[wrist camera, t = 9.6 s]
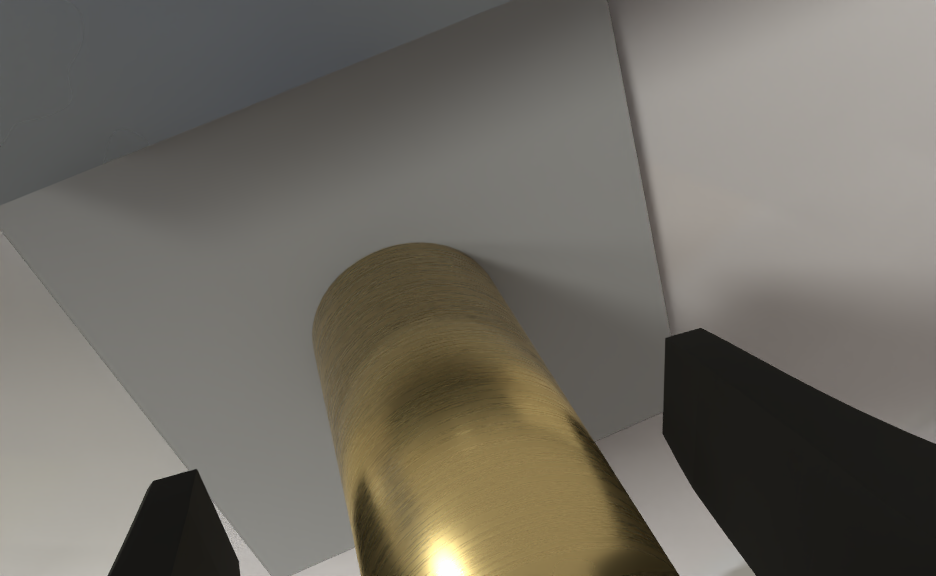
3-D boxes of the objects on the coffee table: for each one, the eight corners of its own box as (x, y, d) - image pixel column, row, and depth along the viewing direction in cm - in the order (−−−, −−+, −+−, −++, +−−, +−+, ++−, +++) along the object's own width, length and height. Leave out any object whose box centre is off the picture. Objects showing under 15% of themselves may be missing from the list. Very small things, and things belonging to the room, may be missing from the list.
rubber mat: (274, 567, 17) (276, 581, 17) (-11, 196, 12) (-17, 207, 11) (674, 392, 18) (684, 402, 18) (589, -44, 12) (599, -40, 12)
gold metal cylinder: (515, 366, 16) (695, 681, 10) (346, 428, 15) (433, 797, 9) (479, 216, 14) (680, 501, 8) (283, 282, 13) (345, 637, 7)
